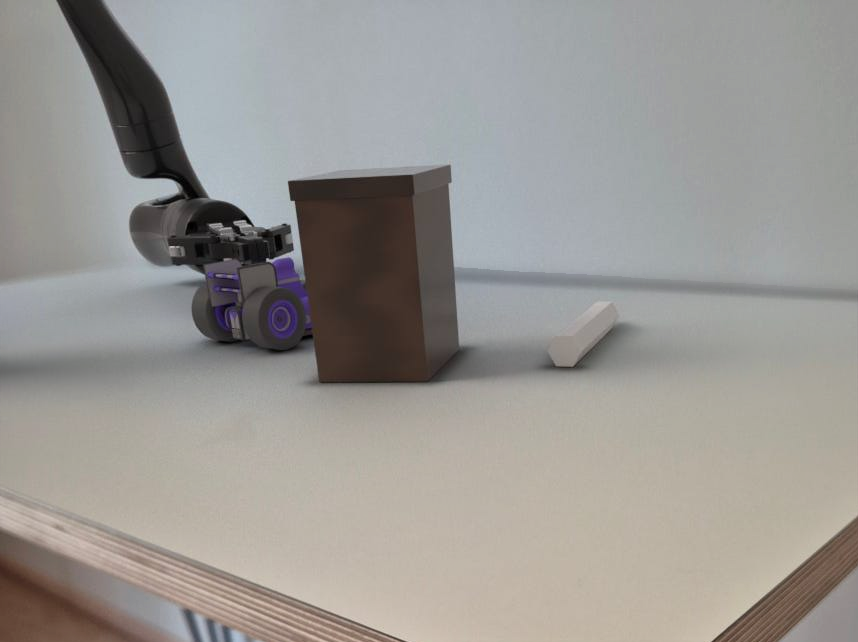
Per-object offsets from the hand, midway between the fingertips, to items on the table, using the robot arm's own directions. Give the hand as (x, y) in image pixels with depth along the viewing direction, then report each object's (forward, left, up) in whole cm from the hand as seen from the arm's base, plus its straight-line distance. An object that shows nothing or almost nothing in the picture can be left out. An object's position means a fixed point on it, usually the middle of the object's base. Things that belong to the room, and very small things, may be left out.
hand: (257, 251), depth 88 cm
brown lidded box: (+18, -18, -6) cm, 26 cm away
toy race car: (+5, -6, -6) cm, 10 cm away
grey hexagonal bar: (+32, -11, -6) cm, 34 cm away
